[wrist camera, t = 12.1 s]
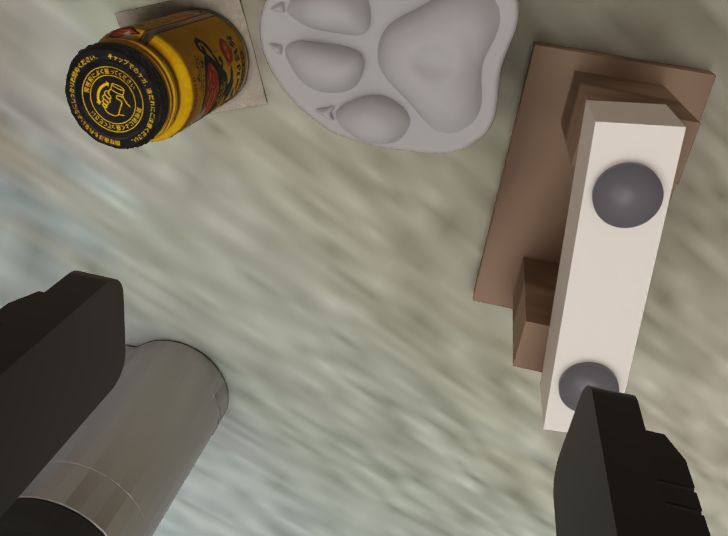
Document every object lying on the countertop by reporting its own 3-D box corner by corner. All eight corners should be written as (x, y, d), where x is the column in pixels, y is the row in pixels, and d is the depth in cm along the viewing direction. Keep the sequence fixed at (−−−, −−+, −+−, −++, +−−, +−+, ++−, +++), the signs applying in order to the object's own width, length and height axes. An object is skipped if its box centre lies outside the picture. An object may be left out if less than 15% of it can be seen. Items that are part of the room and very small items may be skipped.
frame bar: (586, 99, 31) (596, 124, 27) (665, 104, 31) (688, 129, 27) (540, 383, 38) (543, 434, 35) (604, 391, 38) (615, 443, 34)
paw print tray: (487, 133, 43) (482, 178, 35) (288, 95, 44) (241, 129, 36) (529, -47, 38) (534, -41, 30) (304, -84, 39) (254, -88, 31)
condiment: (268, 103, 44) (192, 157, 34) (154, 123, 47) (49, 180, 36) (237, -15, 41) (144, 3, 31) (117, 12, 44) (-9, 39, 33)
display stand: (473, 292, 47) (465, 370, 39) (534, 41, 40) (540, 71, 31) (618, 322, 46) (642, 409, 38) (710, 71, 38) (766, 111, 30)
